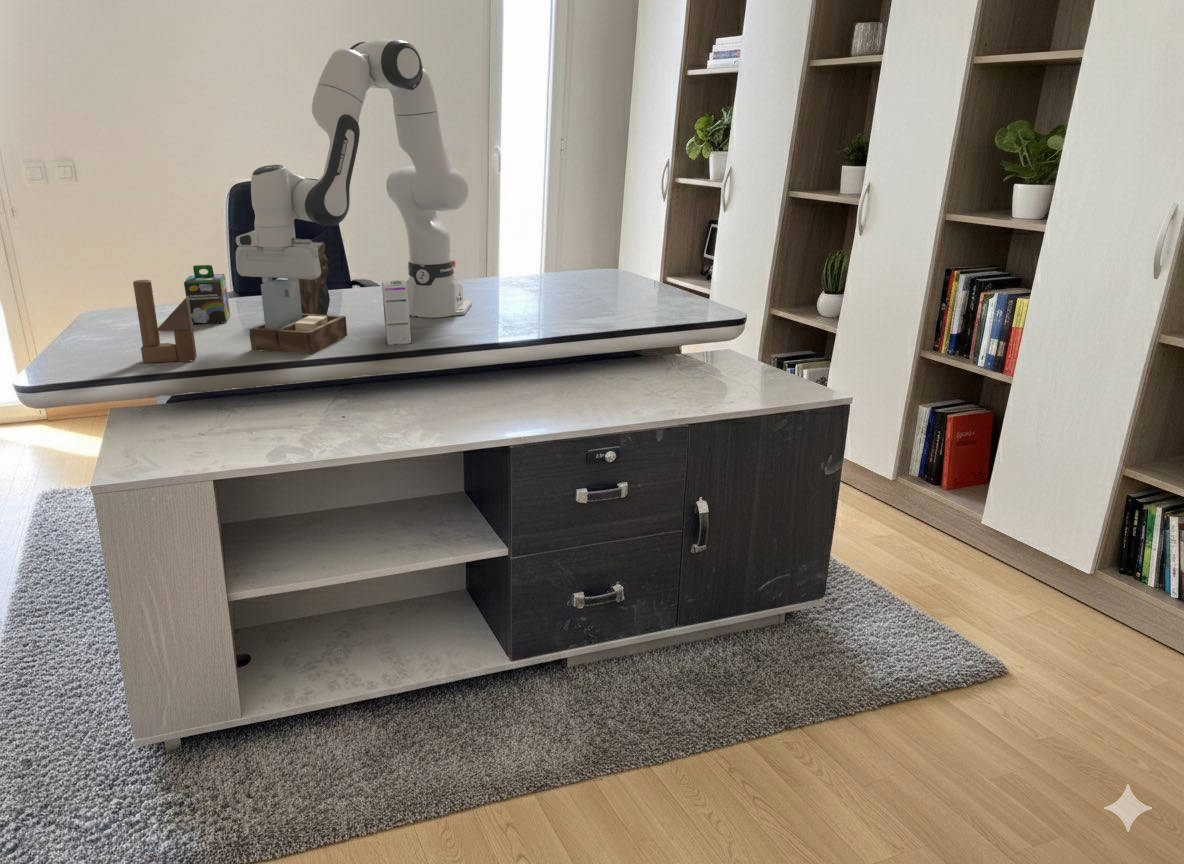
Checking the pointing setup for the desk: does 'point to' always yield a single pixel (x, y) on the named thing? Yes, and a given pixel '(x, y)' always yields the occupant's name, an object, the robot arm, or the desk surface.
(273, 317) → the tall sheet
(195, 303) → the chalk box
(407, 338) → the syrup box
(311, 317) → the short pine offcut
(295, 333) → the walnut rack
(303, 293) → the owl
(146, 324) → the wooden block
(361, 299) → the desk surface
